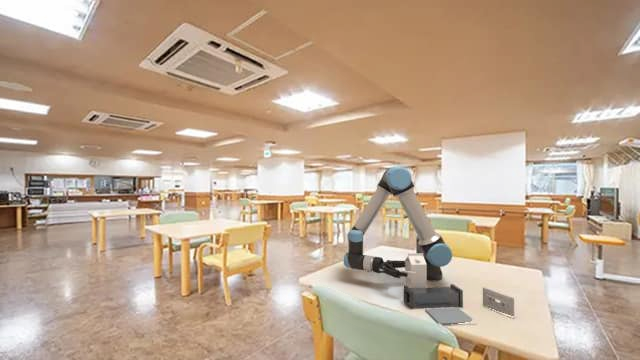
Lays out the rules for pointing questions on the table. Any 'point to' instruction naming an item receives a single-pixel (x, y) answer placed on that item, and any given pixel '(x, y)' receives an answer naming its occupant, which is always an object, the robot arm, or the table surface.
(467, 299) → the table surface
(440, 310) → the slate mat
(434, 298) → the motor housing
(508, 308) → the cassette
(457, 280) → the table surface
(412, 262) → the milk carton
